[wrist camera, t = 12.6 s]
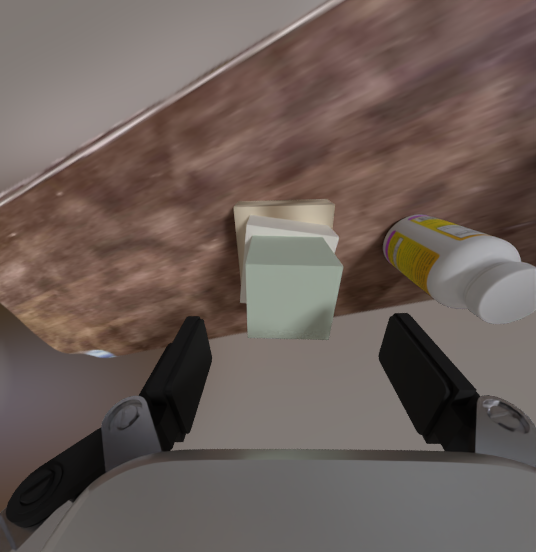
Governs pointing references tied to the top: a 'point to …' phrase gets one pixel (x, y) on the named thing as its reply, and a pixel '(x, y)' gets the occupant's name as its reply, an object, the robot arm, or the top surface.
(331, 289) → the stack block
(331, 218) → the tower base block
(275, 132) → the top surface
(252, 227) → the tower top block
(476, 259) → the supplement bottle
